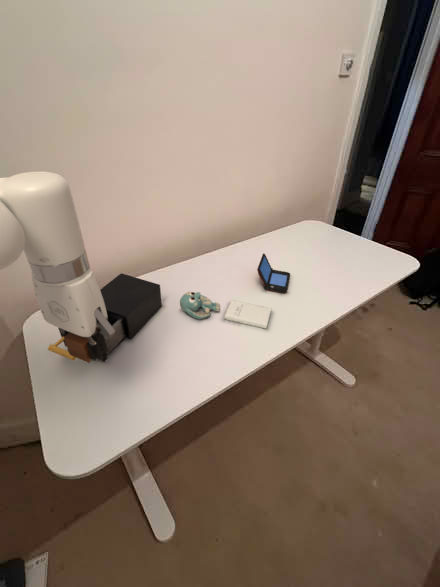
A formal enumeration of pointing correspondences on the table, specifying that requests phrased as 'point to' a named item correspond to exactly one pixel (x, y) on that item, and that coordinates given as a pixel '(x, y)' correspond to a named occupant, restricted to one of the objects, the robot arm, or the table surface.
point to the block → (78, 346)
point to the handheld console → (273, 277)
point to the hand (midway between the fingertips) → (87, 349)
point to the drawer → (110, 342)
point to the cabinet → (132, 301)
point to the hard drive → (248, 314)
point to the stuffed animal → (197, 305)
